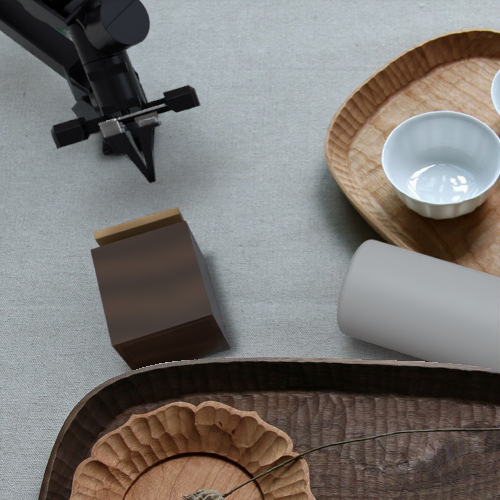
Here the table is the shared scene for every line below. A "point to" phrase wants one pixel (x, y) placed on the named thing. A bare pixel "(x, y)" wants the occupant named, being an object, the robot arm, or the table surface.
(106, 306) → the cabinet
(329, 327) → the table surface
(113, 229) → the drawer
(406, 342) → the cylinder vase
